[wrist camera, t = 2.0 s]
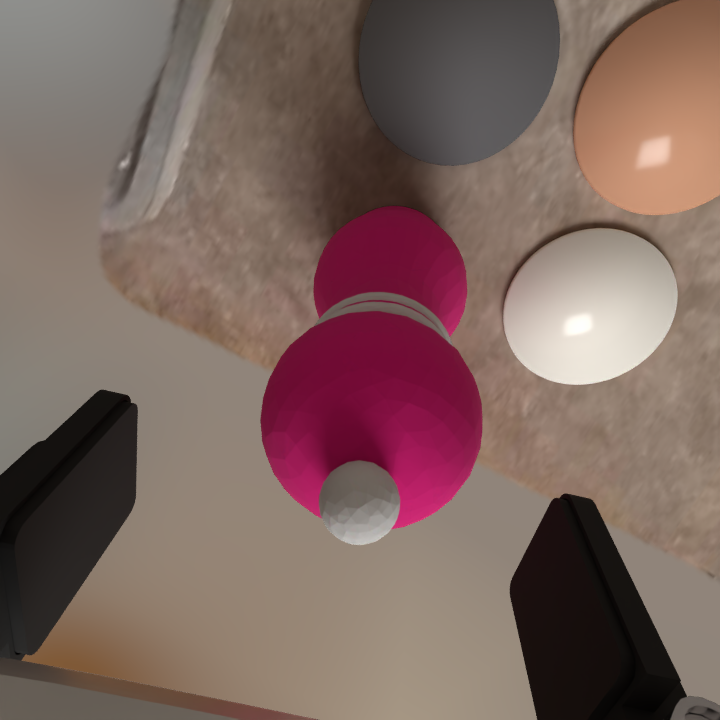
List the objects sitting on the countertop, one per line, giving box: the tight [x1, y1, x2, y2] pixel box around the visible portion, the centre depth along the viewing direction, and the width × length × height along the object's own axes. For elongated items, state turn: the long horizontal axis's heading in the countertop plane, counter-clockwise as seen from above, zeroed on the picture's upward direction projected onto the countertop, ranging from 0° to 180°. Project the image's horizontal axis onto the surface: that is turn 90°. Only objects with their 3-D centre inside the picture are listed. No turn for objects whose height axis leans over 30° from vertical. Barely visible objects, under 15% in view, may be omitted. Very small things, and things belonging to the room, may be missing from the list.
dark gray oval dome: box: [359, 0, 560, 166], centre depth 24 cm, size 9×9×1 cm
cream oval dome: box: [503, 228, 677, 385], centre depth 28 cm, size 9×9×1 cm
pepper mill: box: [261, 206, 482, 545], centre depth 19 cm, size 7×7×20 cm
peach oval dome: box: [573, 0, 720, 215], centre depth 24 cm, size 9×9×1 cm
